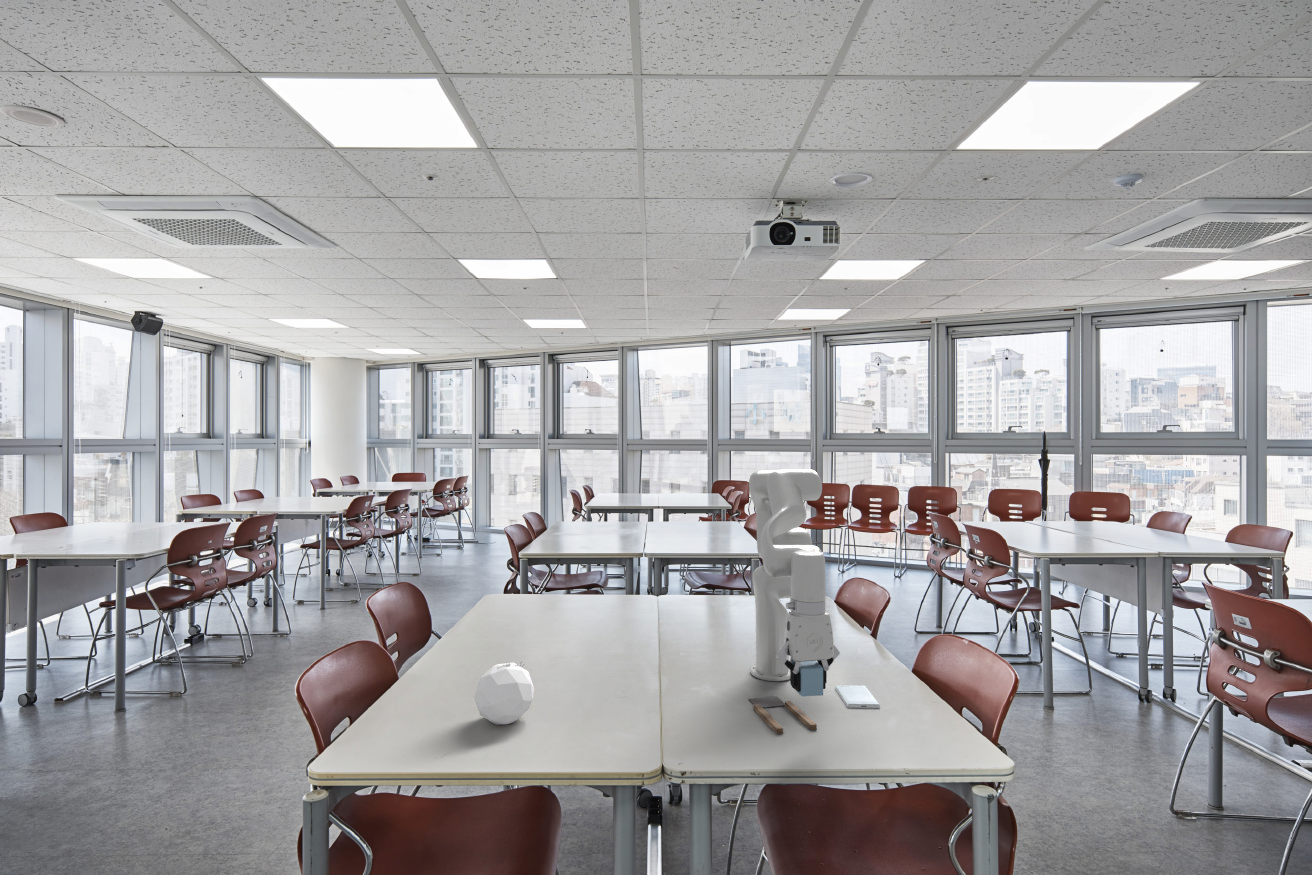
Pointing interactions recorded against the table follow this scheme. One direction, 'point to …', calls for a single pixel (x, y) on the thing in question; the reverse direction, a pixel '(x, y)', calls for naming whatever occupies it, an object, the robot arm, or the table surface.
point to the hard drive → (857, 696)
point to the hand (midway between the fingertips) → (808, 687)
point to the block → (811, 679)
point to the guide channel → (777, 702)
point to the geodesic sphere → (504, 693)
